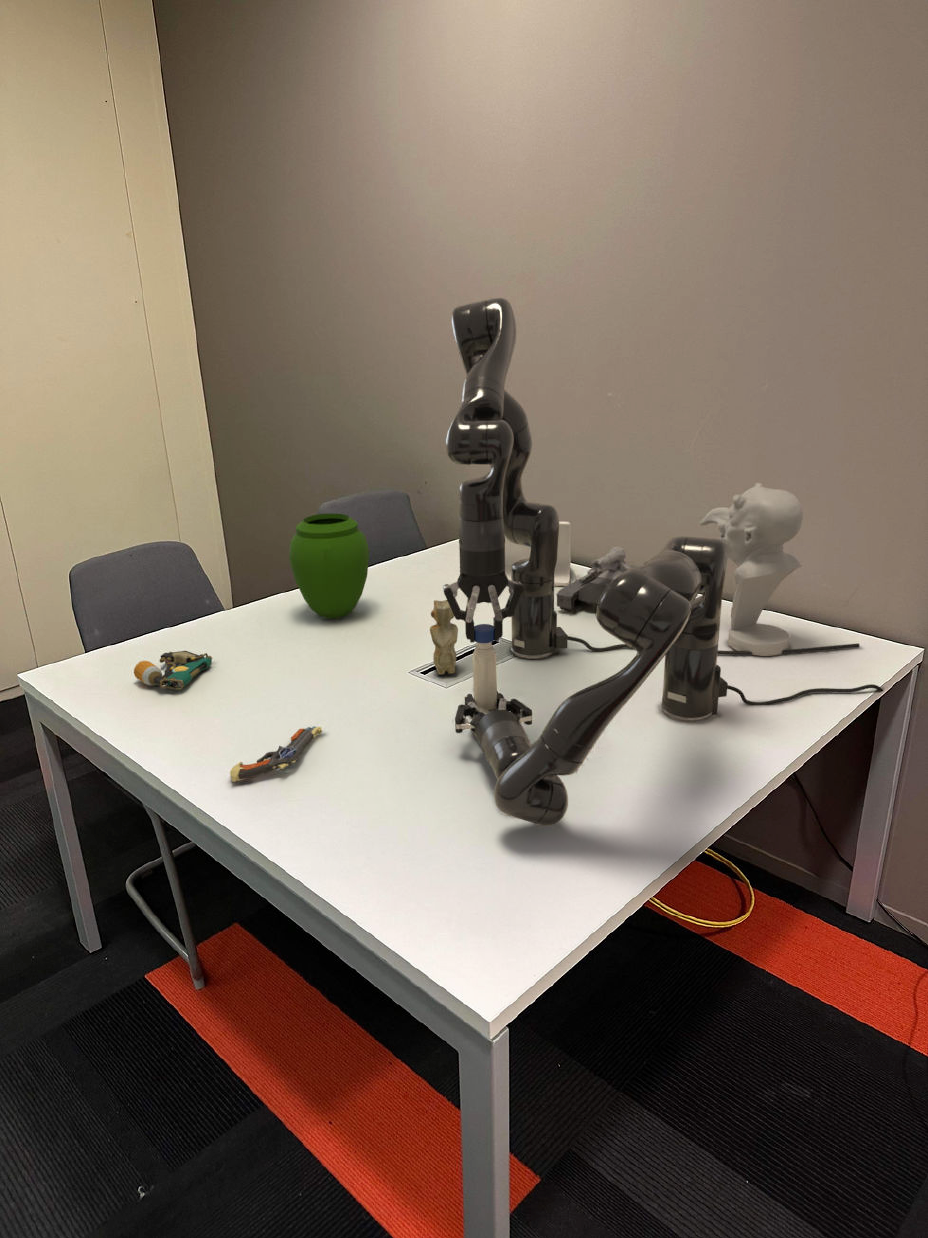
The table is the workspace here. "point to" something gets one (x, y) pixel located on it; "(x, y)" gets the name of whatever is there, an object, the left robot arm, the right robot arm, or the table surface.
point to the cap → (484, 633)
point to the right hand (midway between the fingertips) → (482, 697)
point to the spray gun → (172, 669)
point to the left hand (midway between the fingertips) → (484, 639)
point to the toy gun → (277, 756)
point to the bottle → (485, 676)
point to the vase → (329, 563)
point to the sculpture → (444, 637)
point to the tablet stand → (563, 558)
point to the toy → (593, 581)
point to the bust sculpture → (758, 561)
